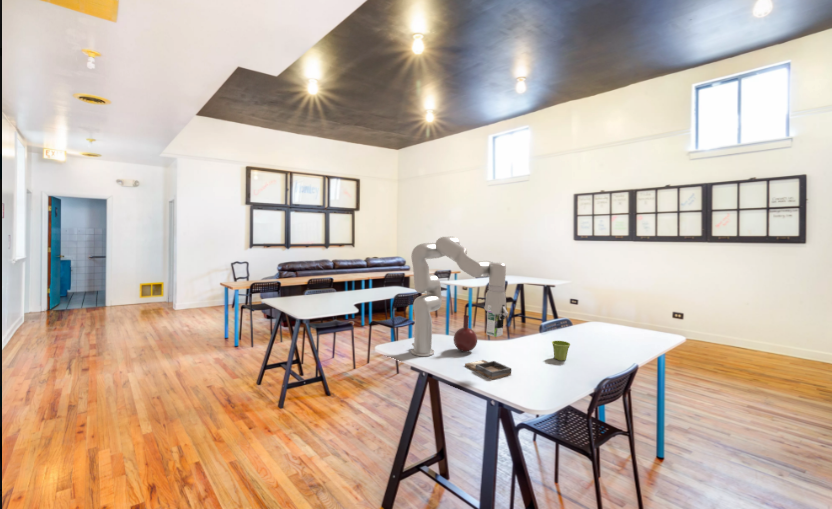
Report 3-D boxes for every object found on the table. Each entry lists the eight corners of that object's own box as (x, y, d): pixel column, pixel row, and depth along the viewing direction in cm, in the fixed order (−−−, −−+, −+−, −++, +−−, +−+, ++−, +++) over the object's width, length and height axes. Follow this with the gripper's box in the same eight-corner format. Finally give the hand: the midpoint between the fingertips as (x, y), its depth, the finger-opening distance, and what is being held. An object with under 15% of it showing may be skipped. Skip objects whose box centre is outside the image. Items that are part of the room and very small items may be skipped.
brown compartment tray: (465, 366, 213) (465, 359, 213) (483, 362, 219) (483, 356, 219) (492, 379, 196) (492, 372, 196) (511, 374, 202) (511, 368, 202)
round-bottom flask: (476, 355, 230) (478, 319, 228) (452, 353, 232) (453, 317, 230) (477, 348, 242) (478, 314, 241) (453, 346, 244) (455, 312, 243)
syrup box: (485, 334, 203) (487, 304, 201) (493, 332, 207) (494, 303, 206) (495, 337, 199) (497, 306, 197) (503, 335, 203) (504, 305, 201)
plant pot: (570, 362, 223) (571, 346, 222) (552, 360, 225) (552, 344, 224) (568, 356, 232) (569, 341, 231) (550, 355, 234) (550, 339, 233)
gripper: (478, 286, 206) (477, 322, 208) (503, 292, 191) (501, 331, 193) (490, 285, 210) (488, 321, 212) (515, 291, 195) (513, 329, 197)
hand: (494, 325), depth 202 cm, fingers closed on syrup box, 6 cm apart
